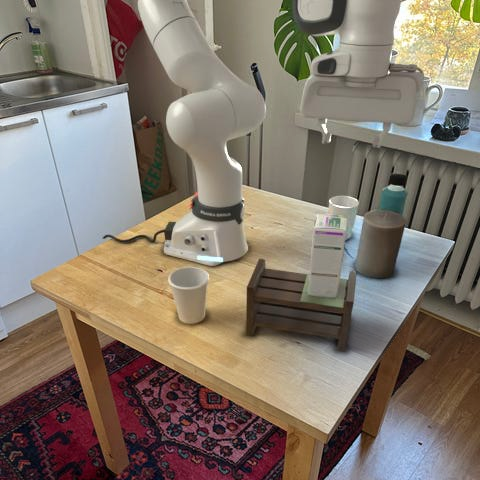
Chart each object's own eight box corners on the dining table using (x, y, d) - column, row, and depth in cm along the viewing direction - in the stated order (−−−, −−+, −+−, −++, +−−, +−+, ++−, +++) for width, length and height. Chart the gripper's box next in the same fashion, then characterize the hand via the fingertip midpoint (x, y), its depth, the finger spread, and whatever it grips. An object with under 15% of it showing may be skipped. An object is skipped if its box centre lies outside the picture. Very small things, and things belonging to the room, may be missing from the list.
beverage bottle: (366, 241, 125) (381, 169, 112) (390, 240, 125) (406, 169, 113) (374, 253, 119) (390, 179, 107) (398, 252, 120) (417, 178, 108)
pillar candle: (402, 271, 112) (416, 215, 103) (373, 283, 108) (386, 226, 99) (373, 255, 119) (385, 201, 110) (346, 265, 115) (355, 210, 105)
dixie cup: (168, 309, 100) (163, 270, 94) (204, 301, 102) (202, 263, 96) (178, 331, 94) (173, 291, 88) (216, 322, 96) (214, 283, 90)
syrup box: (337, 299, 85) (348, 229, 76) (305, 295, 86) (313, 226, 77) (338, 283, 90) (349, 215, 81) (308, 279, 91) (315, 212, 82)
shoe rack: (245, 335, 93) (246, 287, 85) (257, 304, 101) (259, 258, 94) (344, 351, 89) (353, 302, 82) (347, 318, 97) (356, 271, 90)
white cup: (357, 233, 129) (363, 199, 122) (346, 244, 123) (352, 210, 117) (331, 226, 132) (336, 193, 126) (320, 236, 127) (324, 203, 120)
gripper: (425, 61, 78) (407, 144, 86) (307, 57, 82) (300, 136, 90) (428, 68, 73) (408, 154, 81) (302, 62, 77) (296, 145, 85)
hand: (351, 144), depth 86 cm, fingers open, 8 cm apart
